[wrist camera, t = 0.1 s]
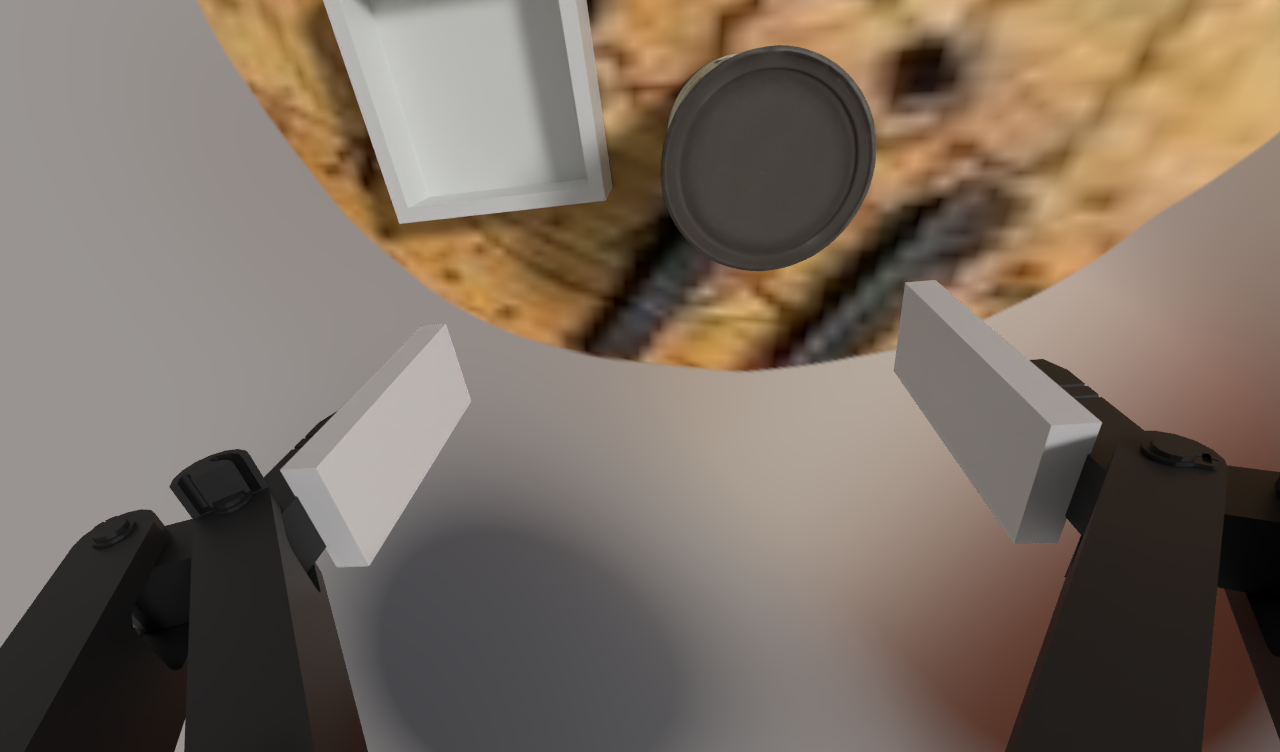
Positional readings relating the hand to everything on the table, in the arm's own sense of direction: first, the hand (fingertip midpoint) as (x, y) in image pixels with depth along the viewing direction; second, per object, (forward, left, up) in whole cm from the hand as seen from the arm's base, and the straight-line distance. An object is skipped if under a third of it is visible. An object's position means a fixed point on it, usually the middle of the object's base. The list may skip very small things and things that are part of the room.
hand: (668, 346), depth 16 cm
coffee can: (-2, +5, -28) cm, 29 cm away
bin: (-7, -12, -28) cm, 31 cm away
